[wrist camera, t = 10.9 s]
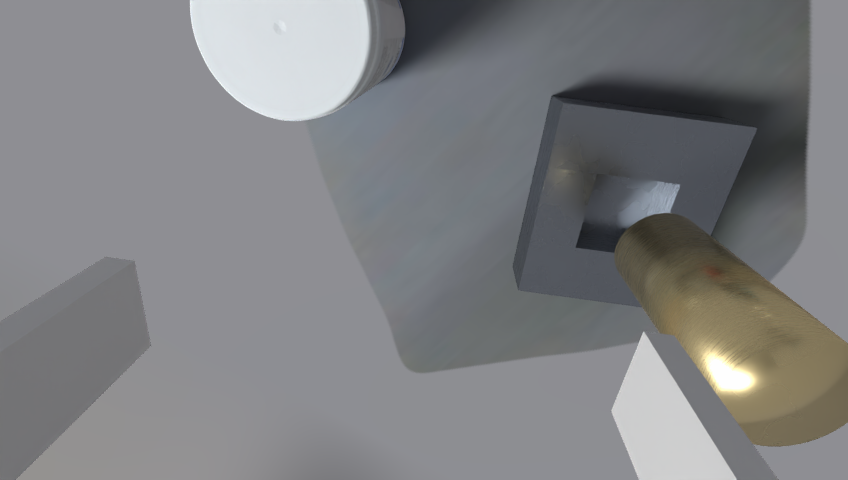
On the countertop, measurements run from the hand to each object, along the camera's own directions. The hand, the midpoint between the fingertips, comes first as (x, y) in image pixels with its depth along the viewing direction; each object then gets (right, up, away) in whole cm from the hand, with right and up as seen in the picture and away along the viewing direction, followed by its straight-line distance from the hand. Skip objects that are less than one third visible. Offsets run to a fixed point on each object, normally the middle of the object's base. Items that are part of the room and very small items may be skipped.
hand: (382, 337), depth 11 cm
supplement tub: (-5, +19, +23) cm, 31 cm away
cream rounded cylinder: (+17, +2, +18) cm, 24 cm away
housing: (+18, +6, +27) cm, 33 cm away
